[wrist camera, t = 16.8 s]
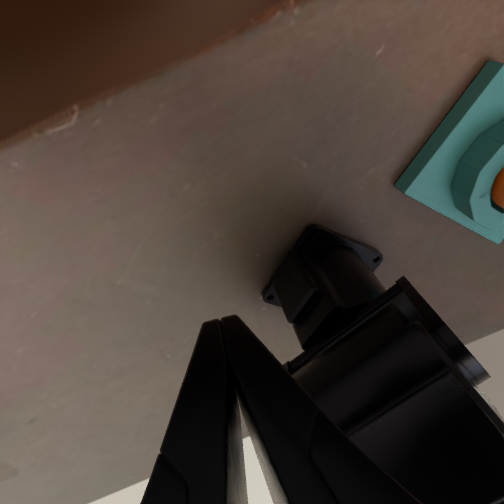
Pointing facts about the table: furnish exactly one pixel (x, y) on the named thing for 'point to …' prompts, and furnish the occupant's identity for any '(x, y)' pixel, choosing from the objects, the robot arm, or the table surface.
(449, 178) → the teal button base
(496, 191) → the button
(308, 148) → the table surface
